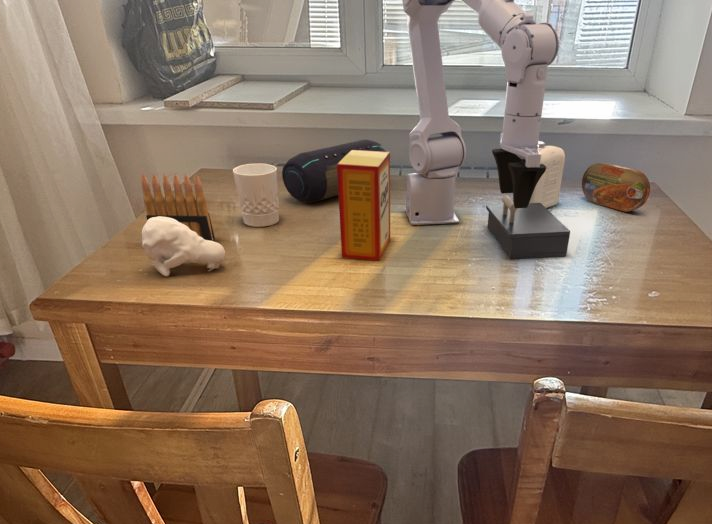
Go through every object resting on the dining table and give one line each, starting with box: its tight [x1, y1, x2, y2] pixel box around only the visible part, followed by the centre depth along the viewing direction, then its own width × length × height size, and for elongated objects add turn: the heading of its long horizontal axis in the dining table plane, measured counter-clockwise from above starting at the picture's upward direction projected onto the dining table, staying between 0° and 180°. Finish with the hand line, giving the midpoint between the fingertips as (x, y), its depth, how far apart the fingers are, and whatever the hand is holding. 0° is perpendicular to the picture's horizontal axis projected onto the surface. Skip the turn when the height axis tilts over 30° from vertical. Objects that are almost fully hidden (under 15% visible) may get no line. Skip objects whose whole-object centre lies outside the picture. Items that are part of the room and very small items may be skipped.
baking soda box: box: [337, 150, 391, 262], centre depth 98 cm, size 10×6×16 cm
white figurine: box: [141, 216, 226, 277], centre depth 91 cm, size 6×8×12 cm
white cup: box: [232, 162, 280, 228], centre depth 110 cm, size 8×8×10 cm
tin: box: [581, 162, 651, 213], centre depth 122 cm, size 15×3×8 cm, turn 41°
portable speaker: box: [281, 139, 387, 203], centre depth 125 cm, size 25×10×10 cm, turn 137°
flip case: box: [486, 212, 571, 260], centre depth 105 cm, size 10×15×4 cm
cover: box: [485, 194, 571, 238], centre depth 103 cm, size 11×15×4 cm
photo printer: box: [529, 145, 566, 209], centre depth 119 cm, size 10×4×12 cm, turn 134°
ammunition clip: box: [140, 173, 216, 242], centre depth 100 cm, size 11×2×12 cm, turn 91°
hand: (513, 199), depth 97 cm, fingers open, 7 cm apart
